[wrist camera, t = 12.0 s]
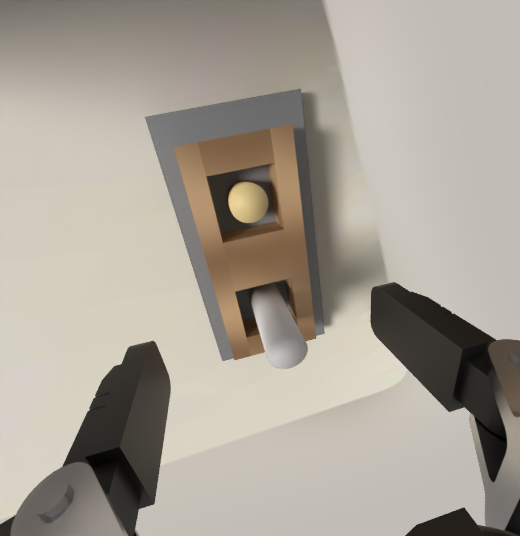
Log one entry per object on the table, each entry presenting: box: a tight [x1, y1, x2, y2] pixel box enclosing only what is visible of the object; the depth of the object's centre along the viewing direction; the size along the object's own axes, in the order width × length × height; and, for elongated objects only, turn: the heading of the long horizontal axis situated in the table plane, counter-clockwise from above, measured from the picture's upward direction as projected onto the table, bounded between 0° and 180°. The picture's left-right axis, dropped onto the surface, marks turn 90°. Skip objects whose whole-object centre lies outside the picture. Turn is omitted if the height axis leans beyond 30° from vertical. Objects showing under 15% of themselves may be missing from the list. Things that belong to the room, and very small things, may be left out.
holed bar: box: [174, 124, 316, 360], centre depth 16 cm, size 13×6×2 cm, turn 10°
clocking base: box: [145, 89, 325, 369], centre depth 14 cm, size 8×16×7 cm, turn 11°
